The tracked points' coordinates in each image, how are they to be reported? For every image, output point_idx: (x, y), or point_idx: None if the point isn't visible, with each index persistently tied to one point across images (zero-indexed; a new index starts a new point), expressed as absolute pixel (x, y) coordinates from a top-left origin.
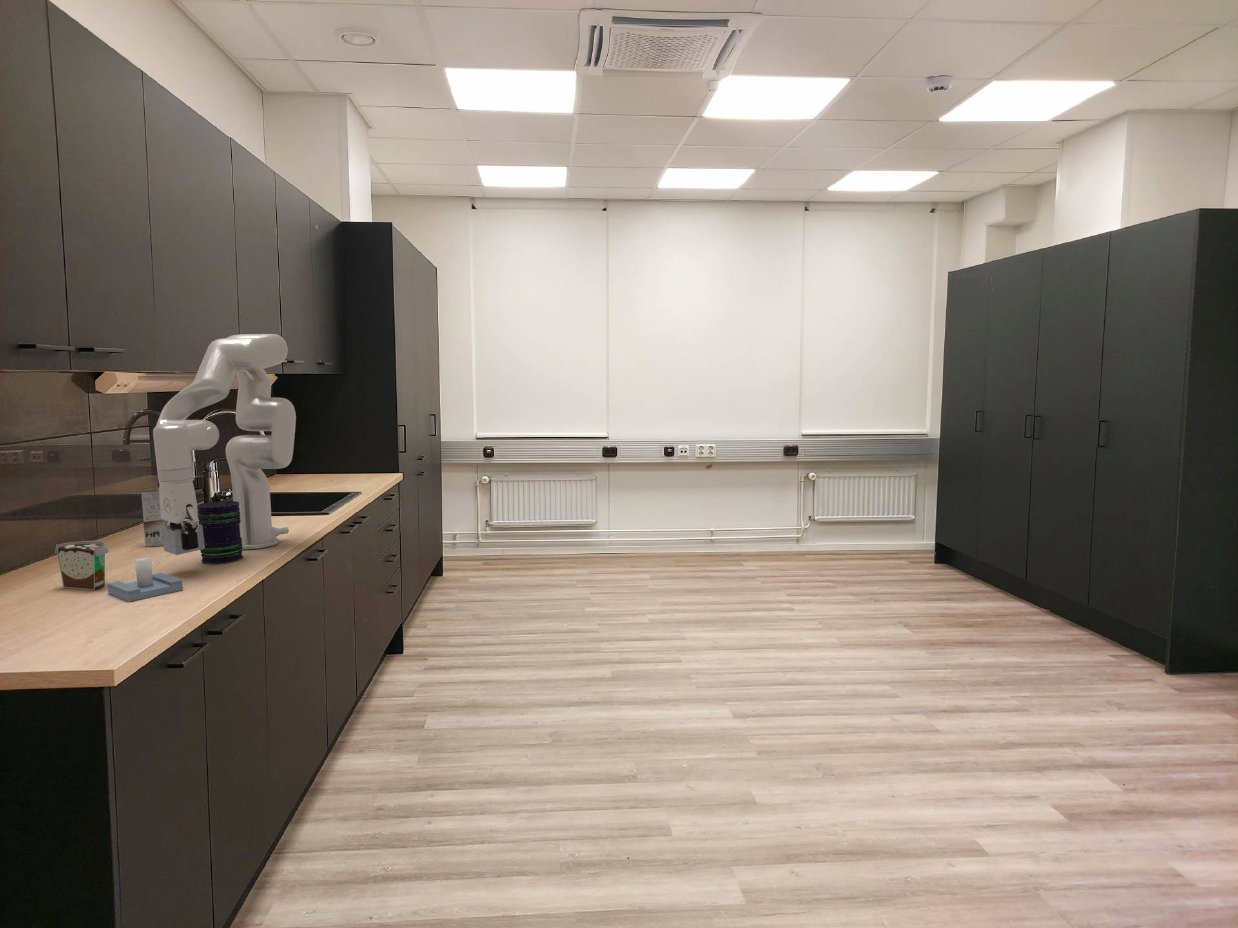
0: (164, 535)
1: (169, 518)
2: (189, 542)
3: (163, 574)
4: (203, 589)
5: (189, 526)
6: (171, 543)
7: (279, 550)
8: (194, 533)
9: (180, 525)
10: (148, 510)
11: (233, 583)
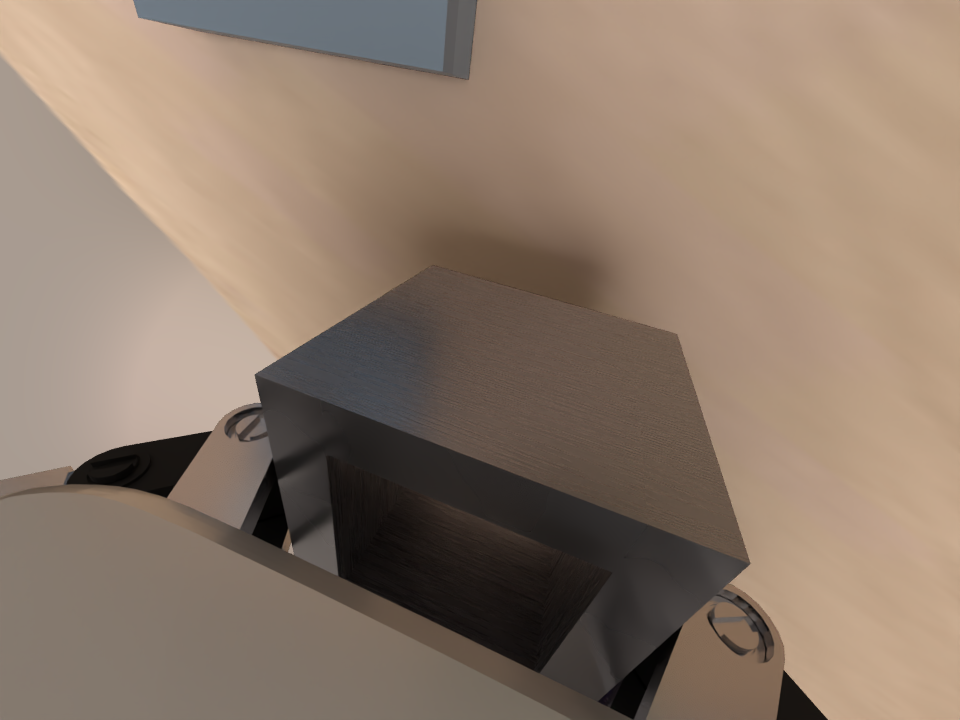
0: (635, 418)
1: (276, 702)
2: None
3: (377, 50)
4: (161, 108)
5: (100, 465)
6: (467, 320)
7: None
8: None
9: (554, 634)
10: None
11: (195, 247)
